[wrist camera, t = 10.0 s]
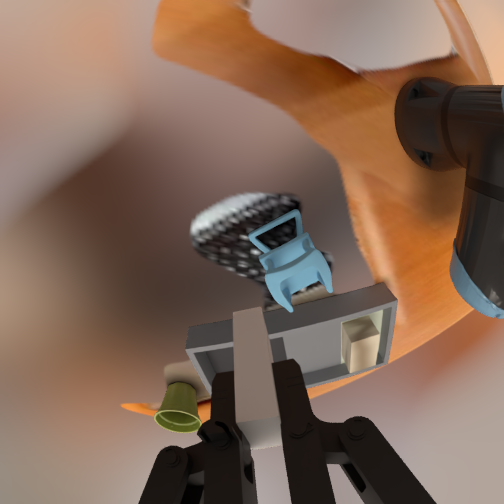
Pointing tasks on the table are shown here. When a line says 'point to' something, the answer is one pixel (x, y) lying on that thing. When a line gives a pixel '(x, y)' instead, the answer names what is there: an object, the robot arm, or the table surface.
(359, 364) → the birch block
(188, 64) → the table surface
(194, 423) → the plant pot
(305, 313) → the tray
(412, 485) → the robot arm
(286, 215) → the chair
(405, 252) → the table surface
